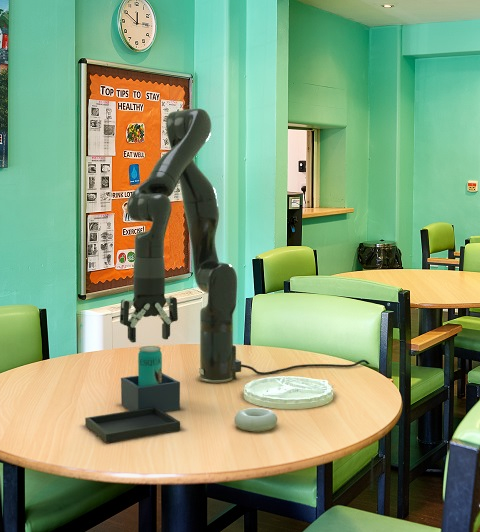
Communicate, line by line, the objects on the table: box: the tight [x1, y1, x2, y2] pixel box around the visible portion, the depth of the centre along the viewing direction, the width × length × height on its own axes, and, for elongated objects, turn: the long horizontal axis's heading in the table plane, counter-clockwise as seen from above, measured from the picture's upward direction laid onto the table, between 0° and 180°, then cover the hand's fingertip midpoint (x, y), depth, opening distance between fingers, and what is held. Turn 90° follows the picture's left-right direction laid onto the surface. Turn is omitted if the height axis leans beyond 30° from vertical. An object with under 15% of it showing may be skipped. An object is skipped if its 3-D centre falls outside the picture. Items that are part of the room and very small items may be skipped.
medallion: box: [243, 375, 334, 410], centre depth 215 cm, size 24×27×2 cm
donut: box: [233, 407, 278, 432], centre depth 188 cm, size 10×3×10 cm
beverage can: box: [137, 345, 163, 387], centre depth 201 cm, size 6×6×15 cm
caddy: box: [120, 372, 181, 413], centre depth 202 cm, size 11×11×7 cm
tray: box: [84, 407, 181, 444], centre depth 186 cm, size 18×14×2 cm
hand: (149, 340), depth 200 cm, fingers open, 8 cm apart
